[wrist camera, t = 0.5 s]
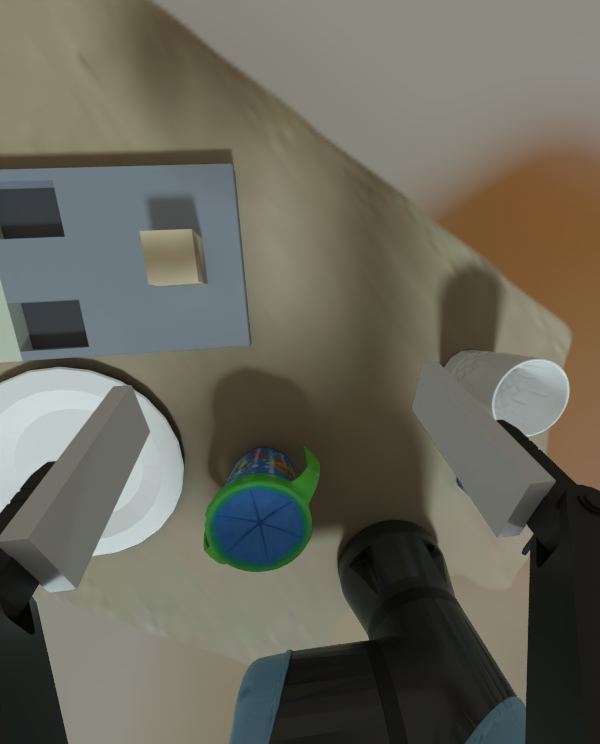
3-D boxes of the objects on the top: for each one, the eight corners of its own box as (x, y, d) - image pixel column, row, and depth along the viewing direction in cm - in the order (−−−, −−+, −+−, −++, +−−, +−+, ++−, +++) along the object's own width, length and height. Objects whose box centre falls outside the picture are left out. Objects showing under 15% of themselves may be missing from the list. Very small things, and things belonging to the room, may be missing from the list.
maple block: (208, 284, 31) (198, 281, 27) (164, 286, 31) (148, 284, 27) (202, 238, 30) (191, 228, 26) (157, 240, 30) (139, 230, 26)
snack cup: (238, 530, 40) (226, 603, 30) (189, 474, 38) (159, 534, 28) (334, 469, 39) (354, 524, 29) (290, 408, 37) (296, 445, 27)
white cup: (486, 406, 39) (556, 439, 29) (430, 402, 38) (483, 434, 29) (501, 347, 38) (580, 362, 28) (443, 342, 37) (503, 355, 27)
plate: (145, 340, 34) (139, 341, 32) (213, 518, 40) (210, 527, 38) (-69, 396, 33) (-87, 400, 32) (31, 568, 39) (20, 580, 38)
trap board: (251, 343, 35) (248, 347, 31) (-58, 364, 32) (-104, 372, 29) (234, 172, 31) (229, 153, 27) (-120, 182, 28) (-182, 162, 25)
